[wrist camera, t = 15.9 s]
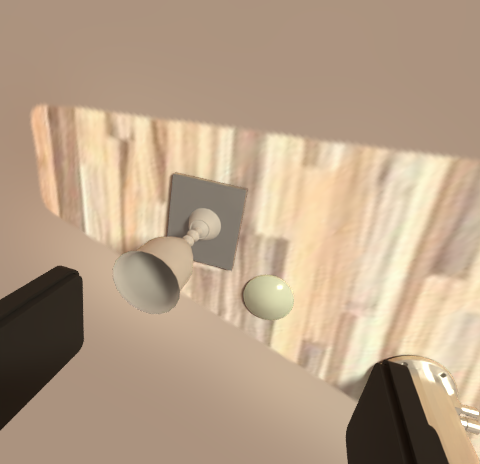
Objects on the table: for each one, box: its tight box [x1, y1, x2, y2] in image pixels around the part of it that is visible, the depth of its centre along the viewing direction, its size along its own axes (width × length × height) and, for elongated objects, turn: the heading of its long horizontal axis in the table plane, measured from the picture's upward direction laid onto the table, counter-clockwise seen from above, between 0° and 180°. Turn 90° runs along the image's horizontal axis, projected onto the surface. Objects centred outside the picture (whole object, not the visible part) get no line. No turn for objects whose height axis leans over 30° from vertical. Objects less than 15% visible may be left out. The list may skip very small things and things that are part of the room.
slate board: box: [167, 172, 248, 271], centre depth 48 cm, size 11×13×1 cm
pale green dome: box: [243, 275, 294, 320], centre depth 51 cm, size 8×8×1 cm
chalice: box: [113, 208, 221, 314], centre depth 40 cm, size 7×7×18 cm
